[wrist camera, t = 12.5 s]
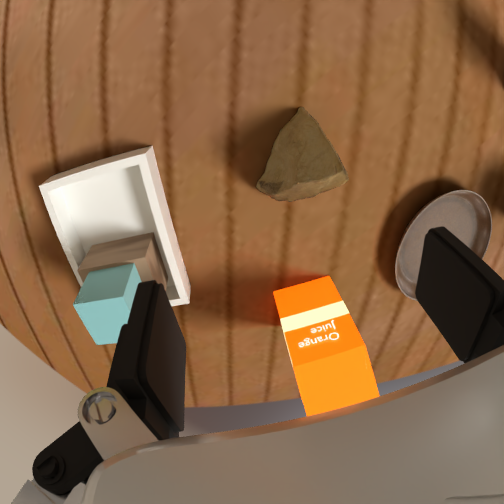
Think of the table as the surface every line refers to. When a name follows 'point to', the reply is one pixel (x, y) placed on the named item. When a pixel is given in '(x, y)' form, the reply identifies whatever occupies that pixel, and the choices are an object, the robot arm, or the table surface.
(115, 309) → the teal box
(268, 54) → the table surface
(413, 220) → the plant saucer
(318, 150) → the rock
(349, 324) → the orange juice
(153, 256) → the walnut block
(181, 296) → the white tray
